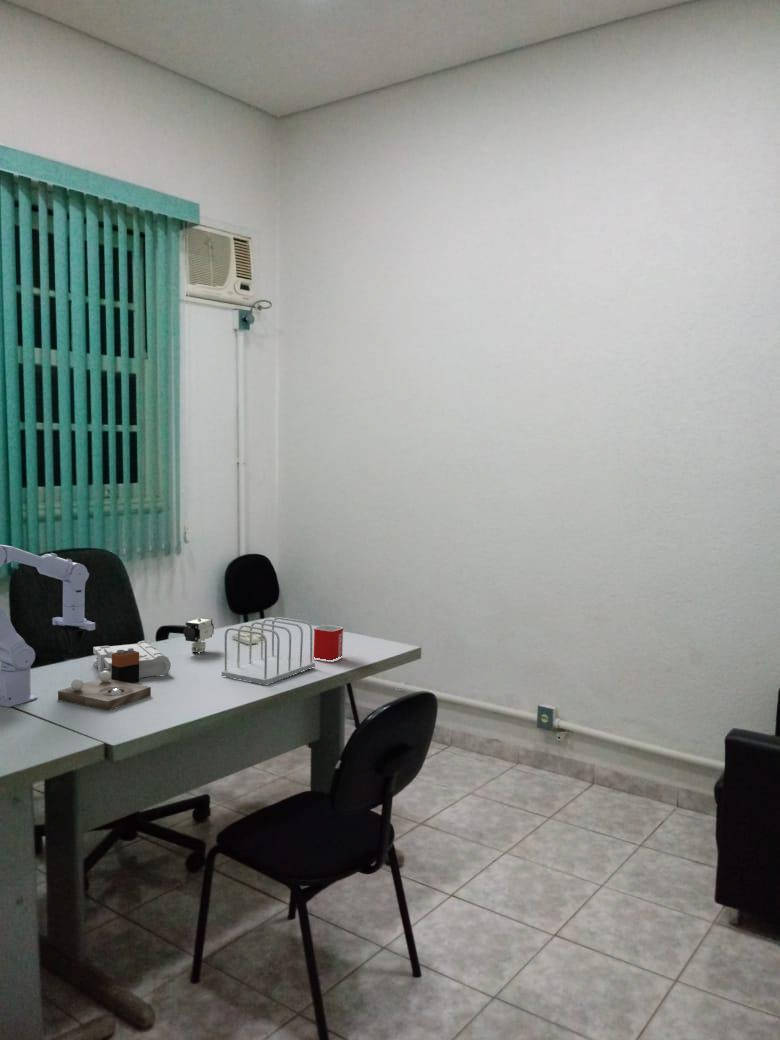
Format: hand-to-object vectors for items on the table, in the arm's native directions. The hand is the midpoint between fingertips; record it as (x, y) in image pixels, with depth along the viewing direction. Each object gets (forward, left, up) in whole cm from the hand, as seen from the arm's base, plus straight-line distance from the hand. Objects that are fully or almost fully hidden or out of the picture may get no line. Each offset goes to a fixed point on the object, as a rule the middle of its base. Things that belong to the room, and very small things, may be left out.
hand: (73, 652), depth 234 cm
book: (+25, +3, -11) cm, 28 cm away
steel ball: (-2, -18, -9) cm, 20 cm away
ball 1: (-7, -9, -6) cm, 13 cm away
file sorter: (+44, -36, -11) cm, 58 cm away
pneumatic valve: (+53, -2, -11) cm, 54 cm away
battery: (+12, -8, -11) cm, 18 cm away
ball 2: (+3, -9, -6) cm, 11 cm away
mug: (+71, -43, -11) cm, 84 cm away
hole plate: (-2, -14, -10) cm, 18 cm away
